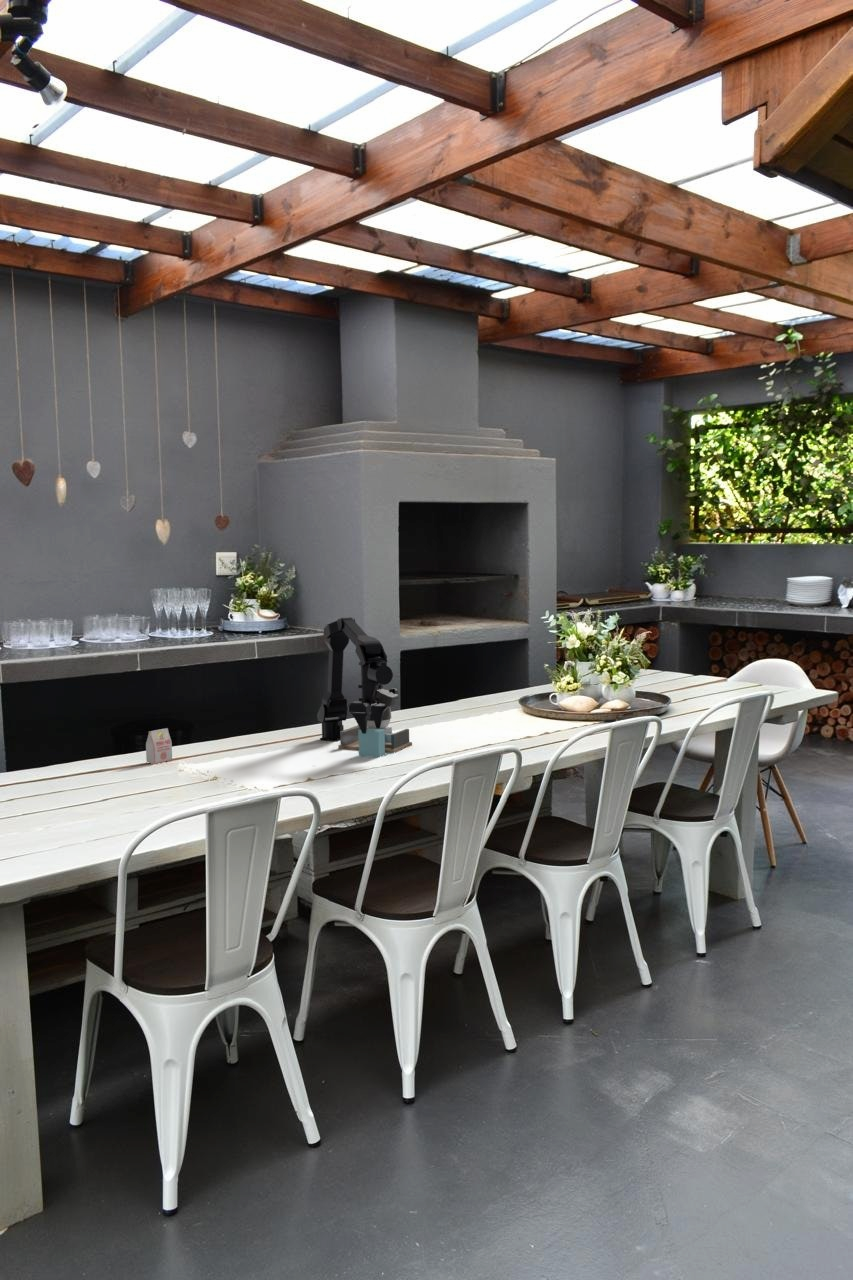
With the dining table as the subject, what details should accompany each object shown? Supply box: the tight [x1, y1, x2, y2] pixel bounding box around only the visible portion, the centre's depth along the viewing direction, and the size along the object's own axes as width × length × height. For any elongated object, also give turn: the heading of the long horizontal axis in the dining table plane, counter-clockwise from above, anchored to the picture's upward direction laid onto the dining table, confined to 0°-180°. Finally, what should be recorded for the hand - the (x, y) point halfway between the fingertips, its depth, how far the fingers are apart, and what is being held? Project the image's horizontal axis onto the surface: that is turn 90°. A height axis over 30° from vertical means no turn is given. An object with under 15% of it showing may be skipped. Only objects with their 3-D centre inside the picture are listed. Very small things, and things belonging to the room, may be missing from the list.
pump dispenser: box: [367, 706, 392, 729], centre depth 360 cm, size 10×10×15 cm
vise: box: [338, 724, 413, 753], centre depth 327 cm, size 20×13×6 cm, turn 65°
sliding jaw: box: [384, 726, 410, 749], centre depth 324 cm, size 8×12×4 cm, turn 155°
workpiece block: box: [358, 727, 386, 758], centre depth 314 cm, size 7×4×8 cm, turn 65°
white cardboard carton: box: [145, 727, 173, 765], centre depth 309 cm, size 4×7×10 cm, turn 142°
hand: (371, 730), depth 314 cm, fingers open, 9 cm apart
